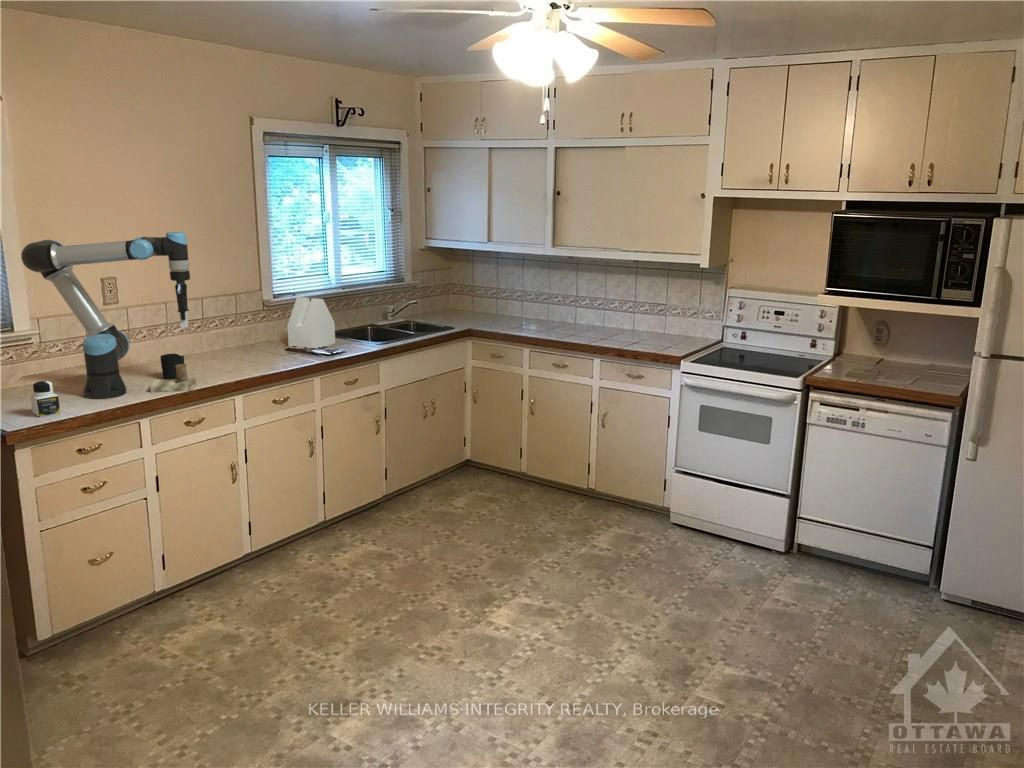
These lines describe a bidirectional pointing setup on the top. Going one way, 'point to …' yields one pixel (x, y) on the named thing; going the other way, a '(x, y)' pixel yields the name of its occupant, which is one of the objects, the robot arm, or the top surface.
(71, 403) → the top surface
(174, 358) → the pen holder
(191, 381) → the mottled green flat block
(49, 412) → the medicine bottle
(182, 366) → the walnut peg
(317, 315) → the white notched tapered block
